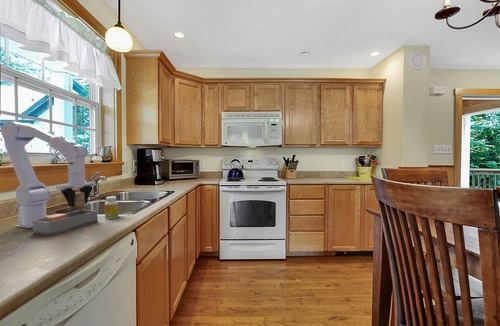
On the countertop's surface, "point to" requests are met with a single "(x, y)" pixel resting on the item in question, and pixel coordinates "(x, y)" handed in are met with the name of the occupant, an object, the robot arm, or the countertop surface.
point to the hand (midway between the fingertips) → (78, 204)
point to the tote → (65, 223)
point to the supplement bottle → (111, 208)
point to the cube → (55, 217)
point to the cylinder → (79, 201)
